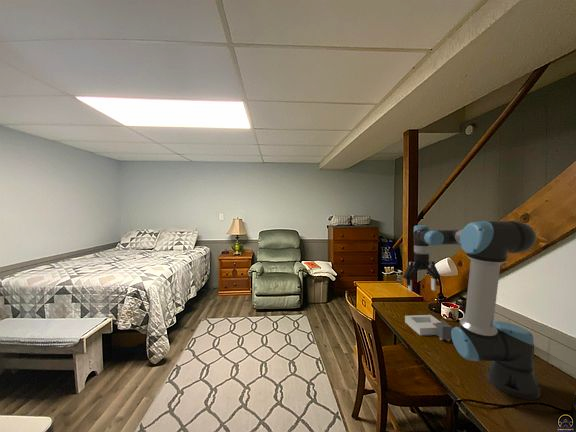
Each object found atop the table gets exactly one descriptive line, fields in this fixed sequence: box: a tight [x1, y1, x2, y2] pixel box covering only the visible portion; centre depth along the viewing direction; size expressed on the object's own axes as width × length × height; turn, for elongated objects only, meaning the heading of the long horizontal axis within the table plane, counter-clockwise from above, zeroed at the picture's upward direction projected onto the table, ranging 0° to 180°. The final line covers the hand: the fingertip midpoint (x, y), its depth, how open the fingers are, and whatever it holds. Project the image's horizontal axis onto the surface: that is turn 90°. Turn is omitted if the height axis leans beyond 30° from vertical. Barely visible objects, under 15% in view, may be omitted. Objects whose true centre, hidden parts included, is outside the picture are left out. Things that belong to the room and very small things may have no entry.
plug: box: [435, 321, 453, 342], centre depth 130 cm, size 5×5×8 cm
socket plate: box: [404, 314, 441, 336], centre depth 143 cm, size 16×16×5 cm
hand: (421, 290), depth 139 cm, fingers open, 13 cm apart
